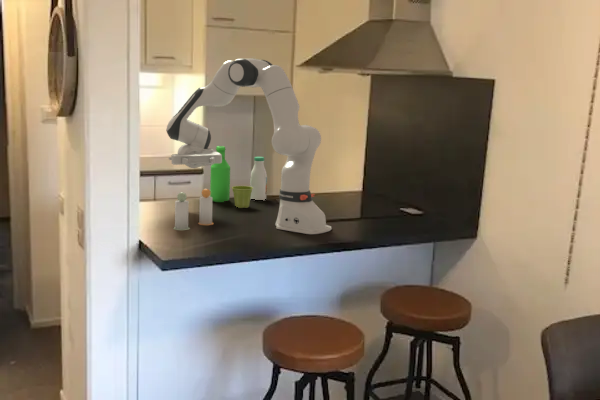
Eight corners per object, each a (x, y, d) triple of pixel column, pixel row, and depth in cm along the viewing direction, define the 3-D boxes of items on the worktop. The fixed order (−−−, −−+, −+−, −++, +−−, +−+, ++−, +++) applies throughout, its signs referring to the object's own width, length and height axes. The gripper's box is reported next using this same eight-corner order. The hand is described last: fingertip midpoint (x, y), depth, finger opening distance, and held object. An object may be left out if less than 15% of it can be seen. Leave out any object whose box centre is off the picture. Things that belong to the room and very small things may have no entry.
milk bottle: (263, 201, 297) (265, 158, 293) (247, 200, 298) (249, 157, 295) (268, 198, 304) (269, 156, 301) (252, 197, 306) (253, 155, 302)
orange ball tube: (214, 223, 246) (215, 188, 244) (205, 225, 242) (205, 190, 240) (206, 221, 249) (206, 187, 246) (196, 223, 245) (197, 188, 243)
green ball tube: (190, 228, 237) (191, 192, 234) (180, 230, 233) (181, 194, 231) (182, 226, 240) (182, 190, 237) (172, 227, 236) (172, 192, 234)
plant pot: (227, 207, 280) (228, 188, 279) (236, 203, 289) (236, 184, 288) (247, 209, 278) (248, 190, 276) (255, 206, 286) (256, 186, 285)
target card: (222, 226, 246) (222, 224, 246) (182, 234, 231) (182, 232, 230) (204, 221, 252) (204, 219, 252) (164, 229, 237) (164, 227, 237)
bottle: (208, 199, 298) (209, 145, 293) (227, 198, 300) (228, 145, 295) (212, 202, 289) (212, 147, 284) (231, 202, 292) (232, 147, 287)
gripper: (167, 150, 261) (173, 153, 248) (217, 148, 268) (225, 152, 255) (167, 165, 262) (174, 169, 249) (217, 164, 269) (225, 168, 257)
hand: (200, 161), depth 252 cm, fingers open, 8 cm apart
